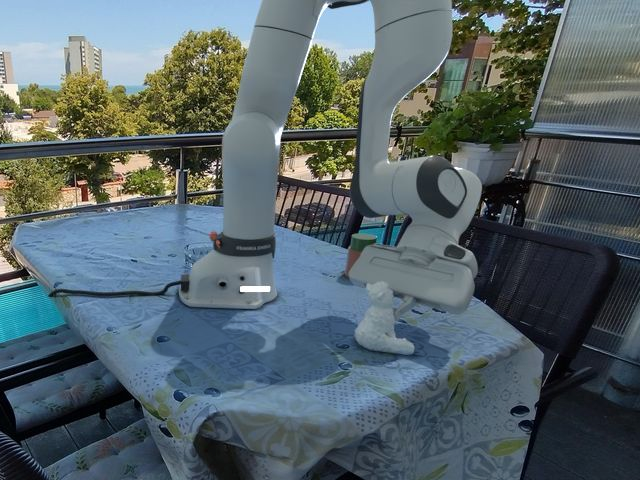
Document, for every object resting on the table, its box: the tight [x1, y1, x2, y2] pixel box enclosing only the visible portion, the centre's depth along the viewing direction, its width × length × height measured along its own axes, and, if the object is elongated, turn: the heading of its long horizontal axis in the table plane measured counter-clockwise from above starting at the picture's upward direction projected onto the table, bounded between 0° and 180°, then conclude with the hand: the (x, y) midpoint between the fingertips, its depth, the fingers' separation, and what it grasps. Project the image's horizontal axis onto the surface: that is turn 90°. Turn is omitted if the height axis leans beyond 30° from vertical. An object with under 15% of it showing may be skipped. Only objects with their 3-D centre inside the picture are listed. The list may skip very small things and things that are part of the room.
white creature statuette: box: [353, 281, 415, 356], centre depth 81 cm, size 10×9×12 cm
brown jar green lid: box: [344, 232, 378, 278], centre depth 113 cm, size 6×6×10 cm
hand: (388, 317), depth 82 cm, fingers closed
